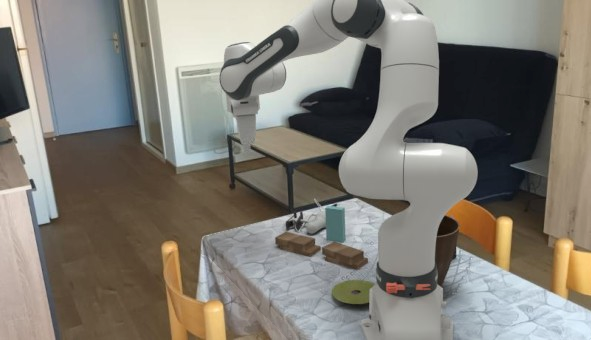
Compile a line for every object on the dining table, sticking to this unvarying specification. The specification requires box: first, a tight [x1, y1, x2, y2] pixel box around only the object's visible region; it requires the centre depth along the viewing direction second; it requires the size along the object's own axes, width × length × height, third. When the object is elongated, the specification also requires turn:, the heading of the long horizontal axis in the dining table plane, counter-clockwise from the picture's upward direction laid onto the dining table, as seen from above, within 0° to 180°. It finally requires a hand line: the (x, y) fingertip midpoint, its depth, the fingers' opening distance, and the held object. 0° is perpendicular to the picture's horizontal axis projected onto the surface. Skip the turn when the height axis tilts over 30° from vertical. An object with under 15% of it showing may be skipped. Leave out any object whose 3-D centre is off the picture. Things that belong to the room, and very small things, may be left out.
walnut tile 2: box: [279, 244, 322, 258], centre depth 157 cm, size 2×5×10 cm
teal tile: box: [324, 205, 347, 244], centre depth 161 cm, size 2×5×10 cm, turn 64°
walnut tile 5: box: [324, 256, 369, 270], centre depth 149 cm, size 2×5×10 cm
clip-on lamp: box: [285, 198, 341, 235], centre depth 174 cm, size 12×6×18 cm
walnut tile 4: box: [321, 241, 365, 265], centre depth 149 cm, size 2×5×10 cm
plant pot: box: [435, 214, 460, 287], centre depth 132 cm, size 15×15×16 cm
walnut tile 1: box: [274, 231, 316, 252], centre depth 158 cm, size 2×5×10 cm
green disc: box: [331, 279, 376, 305], centre depth 130 cm, size 11×11×2 cm
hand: (247, 153), depth 158 cm, fingers closed
